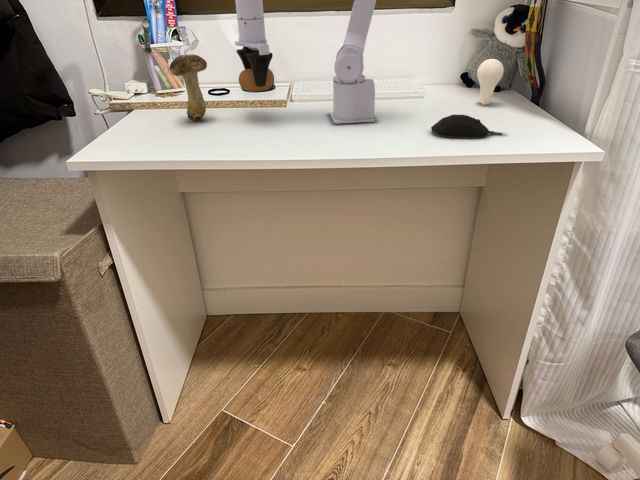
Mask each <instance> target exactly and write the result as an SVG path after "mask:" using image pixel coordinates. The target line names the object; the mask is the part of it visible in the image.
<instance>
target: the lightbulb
mask: <svg viewBox="0 0 640 480" xmlns="http://www.w3.org/2000/svg"><path fill="white" fill-rule="evenodd" d="M504 70H505V69H504V65H503V63H502V62H501V61H500V60H498V59H496V58H488V59H485V60H484V61H482V62H481V63H480V65H479V66H478V67H477V71H476V72H477V73H476V77H477V80H478V83H479V103H481V105H483V106H486V105H488V104H490V103H491V100H492V96H493V95H494V91H495V88H496V87H497V85H498V83H499V82H500V81H501V79H502V78H503V76H504V72H505V71H504Z"/></svg>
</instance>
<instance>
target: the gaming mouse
mask: <svg viewBox="0 0 640 480" xmlns="http://www.w3.org/2000/svg"><path fill="white" fill-rule="evenodd" d="M430 128H431V132H432V133H434V134H436V135H438V136H440V137H443V138H450V139H451V138H452V139H453V138H455V139H456V138H457V139H458V138H459V139H462V138H463V139H464V138H465V139H470V138H471V139H479V138H484V137H486V136H487V135H488V134H490V135H500V136H502V135H503V132H497V131H494V130H489V128H488V127H487V126H486V125H484V124H483V122H481V120H480V118H475V117H473V116H470V115H467V114H451V115H447V116H444V117H442V118H441V119H439V120H438V121H437V122H436V123H434V124H433V125H432V126H431V127H430Z"/></svg>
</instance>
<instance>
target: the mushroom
mask: <svg viewBox="0 0 640 480" xmlns="http://www.w3.org/2000/svg"><path fill="white" fill-rule="evenodd" d="M207 68H208V63H207V61H206V59H204V58H203V57H201V56H200V55H197V54H193V53H192V54H187V53H185V54H180V55H178V56H175V58H174V59H172V61H171V63H170V64H169V68H168V69H169V71H170V73H171V74H172V75H173V76H175V77H182V79H183V81H184V85H185V89H186V93H187V107H186V114H187V116H186V117H187V118H188V121H191V122H199V121H201V119H202V118H203V117H204V115H205V114H206V112H207V105H206V101H205V99H204V95H203V93H202V91H201V90H202V89H201V87H200V84H199V83H200V82H199V77H198V73H200V72H203V71H205V70H206V69H207Z"/></svg>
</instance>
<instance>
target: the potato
mask: <svg viewBox="0 0 640 480" xmlns="http://www.w3.org/2000/svg"><path fill="white" fill-rule="evenodd" d="M274 82H275V74H274V72H273V71H272V69H270V68H269V67H268V73H267V80H266V86H260V87H257V86H256V84H255V80H254V76H253V71H252V68H251V69H245V68H244V70H241V72H240V73H239V75H238V84H239V87H240V88H242V90H244V91H246V92H249V93H255V92H263V91H269V90H270V88H271V87H273V85H274Z"/></svg>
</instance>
